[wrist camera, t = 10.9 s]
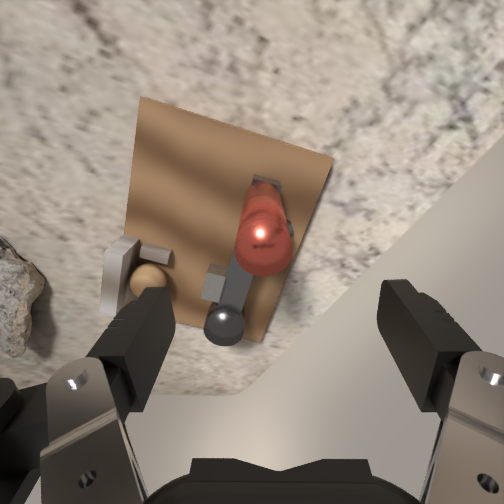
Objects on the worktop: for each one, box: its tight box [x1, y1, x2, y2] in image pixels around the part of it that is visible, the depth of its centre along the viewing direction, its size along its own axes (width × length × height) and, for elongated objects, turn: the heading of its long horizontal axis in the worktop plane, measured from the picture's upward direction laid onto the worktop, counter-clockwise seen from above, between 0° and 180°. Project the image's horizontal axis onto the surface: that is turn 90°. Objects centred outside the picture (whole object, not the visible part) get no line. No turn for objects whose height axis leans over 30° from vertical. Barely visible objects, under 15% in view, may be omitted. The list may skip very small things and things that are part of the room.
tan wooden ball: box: [129, 264, 167, 297], centre depth 30 cm, size 4×4×4 cm
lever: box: [201, 174, 293, 346], centre depth 23 cm, size 17×5×12 cm, turn 164°
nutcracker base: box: [99, 96, 334, 343], centre depth 28 cm, size 22×17×5 cm
